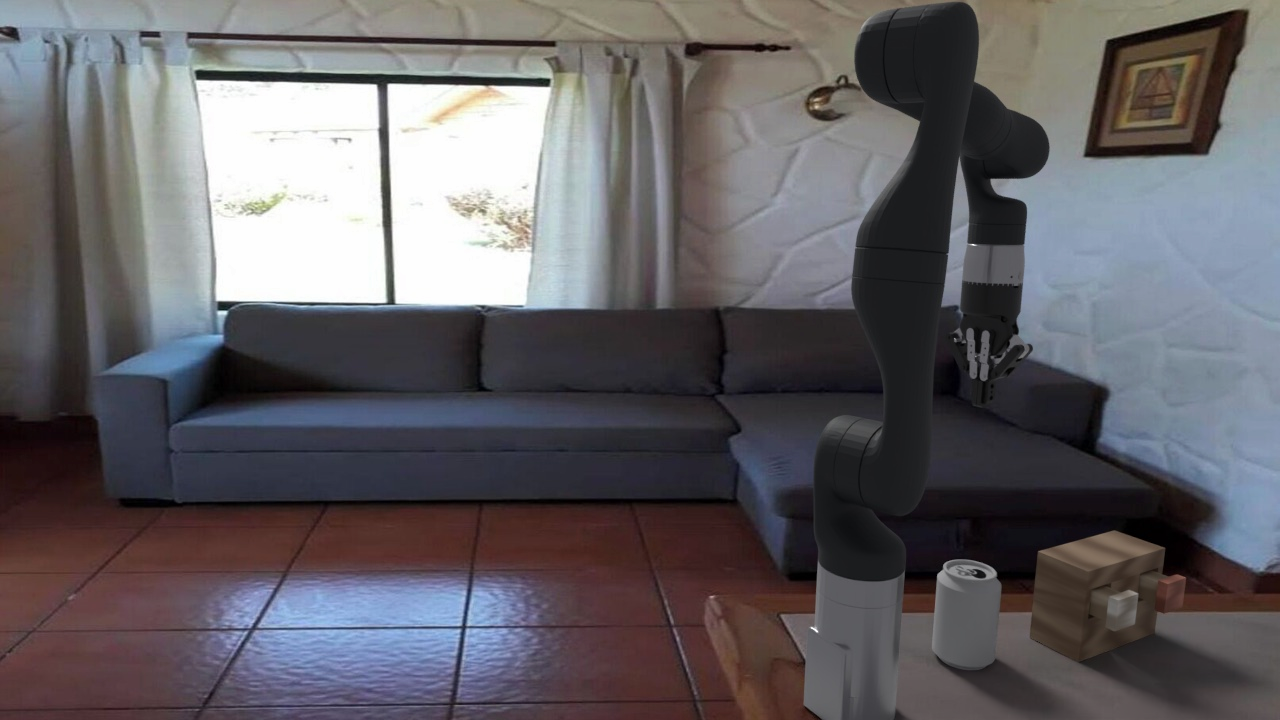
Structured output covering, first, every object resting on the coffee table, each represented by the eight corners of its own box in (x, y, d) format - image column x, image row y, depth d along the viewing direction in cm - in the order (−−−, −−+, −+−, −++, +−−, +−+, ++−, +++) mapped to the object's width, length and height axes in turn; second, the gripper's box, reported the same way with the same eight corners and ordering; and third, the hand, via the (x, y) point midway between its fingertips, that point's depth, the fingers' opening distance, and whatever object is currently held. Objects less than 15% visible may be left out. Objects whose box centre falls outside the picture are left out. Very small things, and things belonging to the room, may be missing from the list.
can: (1000, 677, 104) (1008, 583, 102) (935, 670, 106) (942, 577, 103) (988, 646, 111) (996, 558, 109) (927, 640, 113) (934, 553, 111)
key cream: (1114, 631, 104) (1118, 600, 104) (1046, 600, 112) (1050, 571, 111) (1134, 624, 106) (1138, 593, 105) (1066, 594, 114) (1069, 565, 113)
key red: (1164, 613, 109) (1167, 584, 108) (1095, 585, 117) (1098, 557, 116) (1182, 607, 111) (1186, 577, 110) (1113, 579, 119) (1117, 552, 118)
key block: (1078, 662, 108) (1088, 571, 106) (1029, 637, 114) (1037, 551, 112) (1154, 633, 115) (1165, 548, 113) (1105, 611, 121) (1114, 530, 119)
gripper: (933, 275, 118) (924, 399, 122) (1016, 284, 107) (1004, 420, 110) (971, 274, 122) (962, 394, 125) (1055, 282, 111) (1042, 413, 114)
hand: (981, 406), depth 118 cm, fingers closed
